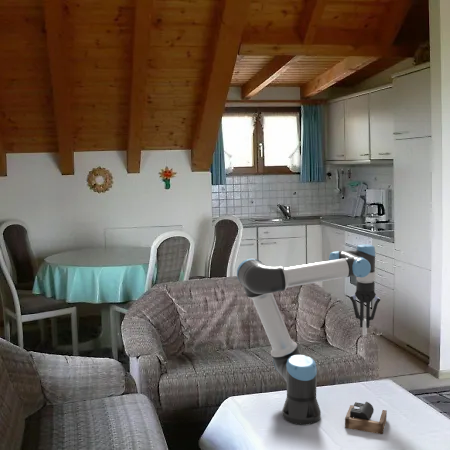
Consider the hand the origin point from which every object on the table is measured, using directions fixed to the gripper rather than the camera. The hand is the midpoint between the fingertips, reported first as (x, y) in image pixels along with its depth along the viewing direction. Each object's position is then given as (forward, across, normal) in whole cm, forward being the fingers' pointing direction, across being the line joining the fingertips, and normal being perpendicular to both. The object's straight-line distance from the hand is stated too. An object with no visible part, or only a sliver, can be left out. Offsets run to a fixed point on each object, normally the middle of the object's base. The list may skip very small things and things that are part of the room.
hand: (364, 334), depth 246 cm
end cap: (+27, -3, +27) cm, 38 cm away
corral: (+26, -5, +28) cm, 39 cm away
